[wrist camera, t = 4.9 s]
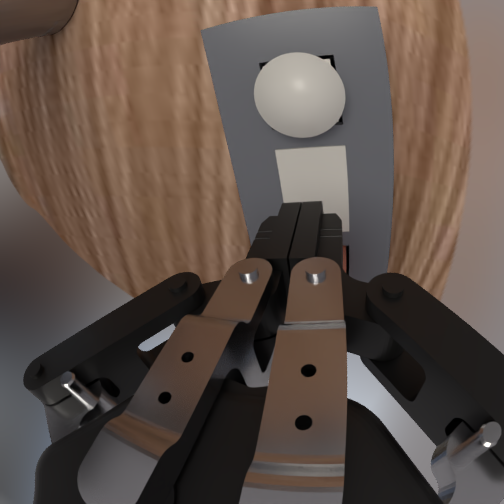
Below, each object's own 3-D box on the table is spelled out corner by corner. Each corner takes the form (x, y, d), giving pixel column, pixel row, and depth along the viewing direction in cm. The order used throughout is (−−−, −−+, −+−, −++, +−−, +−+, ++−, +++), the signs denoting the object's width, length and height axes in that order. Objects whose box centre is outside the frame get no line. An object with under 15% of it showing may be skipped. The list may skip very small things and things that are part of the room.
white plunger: (269, 60, 21) (245, 59, 15) (335, 53, 19) (338, 48, 13) (280, 119, 24) (262, 141, 18) (343, 115, 22) (349, 135, 16)
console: (231, 36, 21) (199, 30, 15) (364, 20, 17) (377, 6, 12) (278, 270, 36) (266, 313, 31) (376, 269, 32) (380, 315, 27)
